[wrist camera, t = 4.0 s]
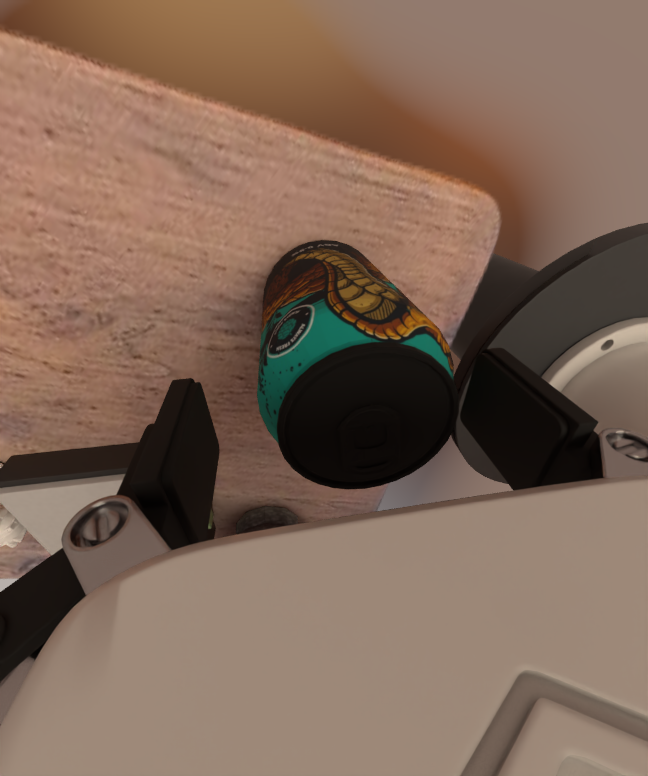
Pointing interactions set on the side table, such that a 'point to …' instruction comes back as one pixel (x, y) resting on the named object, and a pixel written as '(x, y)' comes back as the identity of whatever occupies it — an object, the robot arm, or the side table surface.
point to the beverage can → (350, 371)
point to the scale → (63, 487)
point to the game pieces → (10, 528)
